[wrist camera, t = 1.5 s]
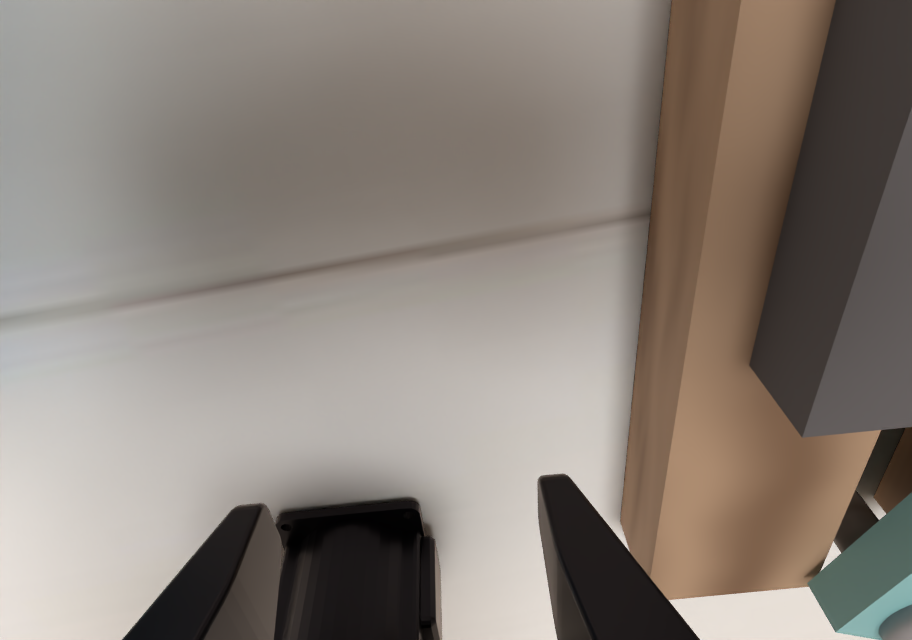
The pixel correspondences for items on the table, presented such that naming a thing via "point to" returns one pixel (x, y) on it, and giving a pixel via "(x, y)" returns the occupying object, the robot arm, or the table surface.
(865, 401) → the dark grey angular bar
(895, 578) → the duct cover
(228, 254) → the table surface
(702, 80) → the wooden box
